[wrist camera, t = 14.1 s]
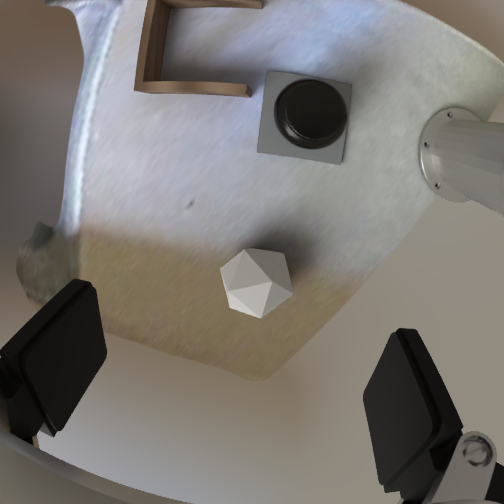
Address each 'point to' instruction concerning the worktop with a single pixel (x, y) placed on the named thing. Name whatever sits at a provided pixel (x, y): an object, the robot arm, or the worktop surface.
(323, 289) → the worktop surface
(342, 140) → the pad
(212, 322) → the worktop surface
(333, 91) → the supplement bottle
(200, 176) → the worktop surface
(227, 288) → the die
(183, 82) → the cubby
